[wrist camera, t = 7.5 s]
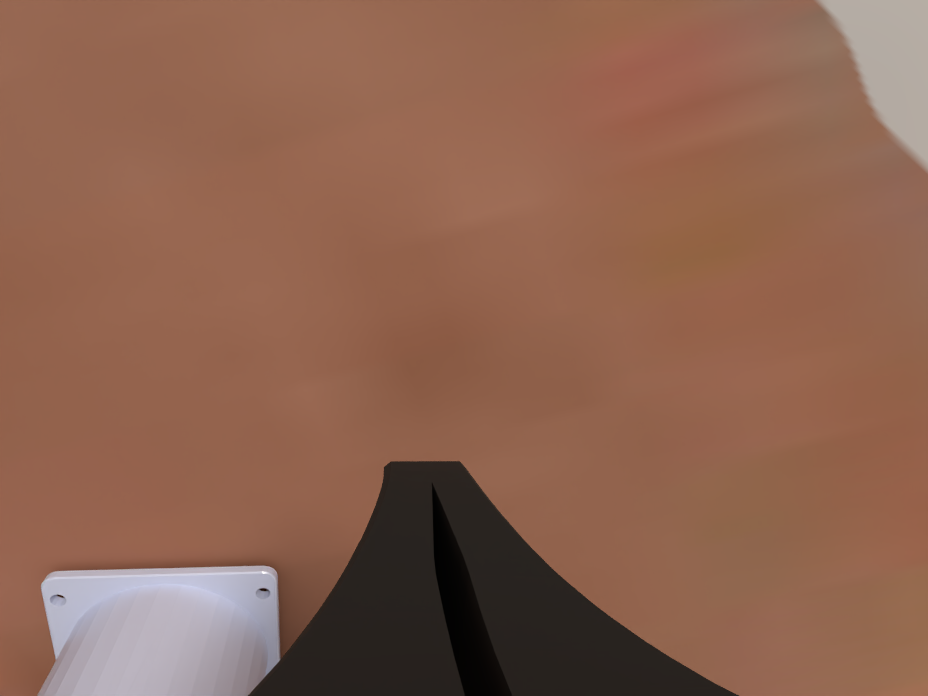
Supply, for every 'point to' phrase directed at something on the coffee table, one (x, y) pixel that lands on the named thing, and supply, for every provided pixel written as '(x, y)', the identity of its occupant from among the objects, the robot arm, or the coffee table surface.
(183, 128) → the coffee table surface
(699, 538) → the coffee table surface
